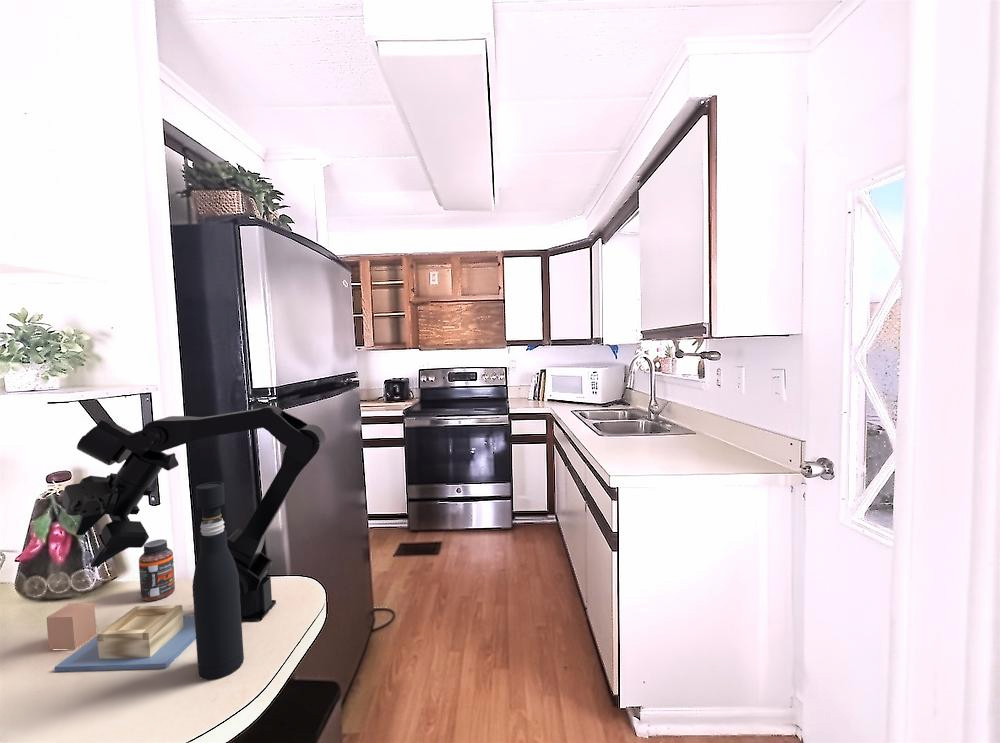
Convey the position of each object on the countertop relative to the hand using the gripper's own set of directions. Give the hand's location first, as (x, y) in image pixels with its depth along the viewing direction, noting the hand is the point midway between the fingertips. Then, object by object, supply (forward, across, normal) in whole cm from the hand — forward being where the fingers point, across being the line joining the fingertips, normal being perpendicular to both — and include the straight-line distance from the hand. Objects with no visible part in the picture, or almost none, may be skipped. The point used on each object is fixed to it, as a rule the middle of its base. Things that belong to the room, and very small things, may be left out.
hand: (86, 550), depth 88 cm
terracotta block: (+13, +8, +3) cm, 16 cm away
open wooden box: (+6, +19, +7) cm, 21 cm away
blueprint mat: (+6, +18, +7) cm, 20 cm away
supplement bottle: (+10, +2, +18) cm, 20 cm away
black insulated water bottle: (-3, +35, +9) cm, 36 cm away
